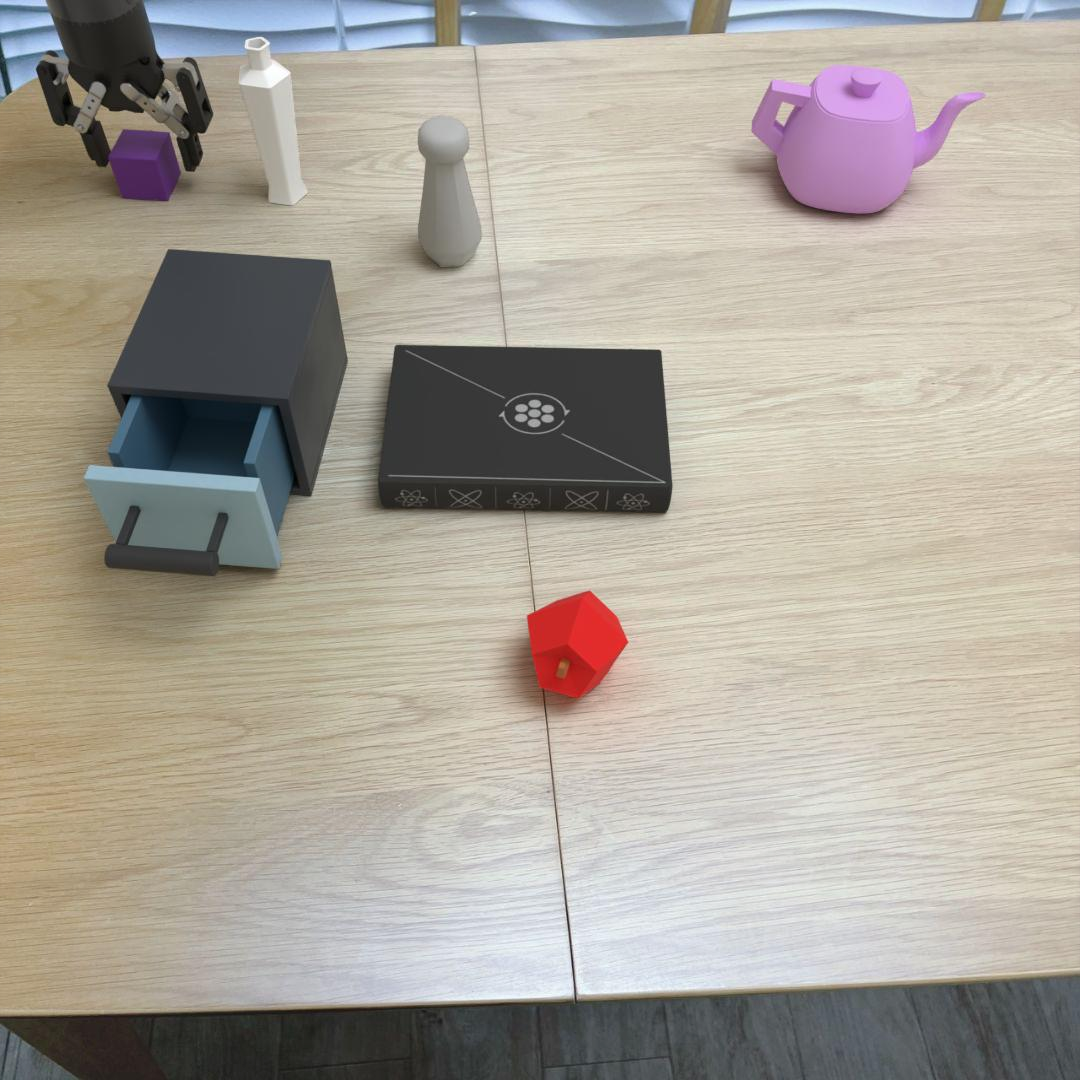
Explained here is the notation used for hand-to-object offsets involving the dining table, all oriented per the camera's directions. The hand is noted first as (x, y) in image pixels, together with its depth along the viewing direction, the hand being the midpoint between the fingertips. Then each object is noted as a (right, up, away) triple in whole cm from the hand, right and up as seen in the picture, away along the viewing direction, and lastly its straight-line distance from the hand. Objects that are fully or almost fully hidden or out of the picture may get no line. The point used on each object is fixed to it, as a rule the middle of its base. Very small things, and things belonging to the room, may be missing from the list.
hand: (148, 164), depth 104 cm
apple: (+39, -44, -29) cm, 66 cm away
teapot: (+67, 0, +4) cm, 67 cm away
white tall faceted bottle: (+13, -3, +1) cm, 13 cm away
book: (+36, -28, -17) cm, 49 cm away
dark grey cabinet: (+14, -26, -16) cm, 34 cm away
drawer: (+13, -34, -23) cm, 43 cm away
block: (0, -1, +2) cm, 2 cm away
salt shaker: (+29, -9, -4) cm, 31 cm away
